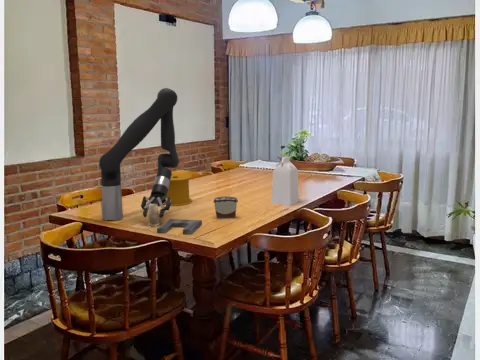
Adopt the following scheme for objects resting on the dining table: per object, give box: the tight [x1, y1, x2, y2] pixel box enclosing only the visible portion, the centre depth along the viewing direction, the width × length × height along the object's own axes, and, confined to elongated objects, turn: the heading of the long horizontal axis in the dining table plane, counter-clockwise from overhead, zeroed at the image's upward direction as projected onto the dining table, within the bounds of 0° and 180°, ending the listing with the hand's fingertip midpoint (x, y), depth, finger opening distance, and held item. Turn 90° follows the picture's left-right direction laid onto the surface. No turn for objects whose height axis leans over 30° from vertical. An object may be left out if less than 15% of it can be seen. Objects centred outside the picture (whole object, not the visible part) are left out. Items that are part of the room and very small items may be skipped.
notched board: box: [156, 218, 203, 235], centre depth 203 cm, size 16×16×2 cm
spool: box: [163, 174, 193, 207], centre depth 254 cm, size 18×18×15 cm
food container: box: [212, 195, 239, 220], centre depth 221 cm, size 12×6×10 cm, turn 92°
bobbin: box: [147, 204, 161, 228], centre depth 208 cm, size 5×5×10 cm
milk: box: [270, 155, 300, 207], centre depth 248 cm, size 12×12×26 cm
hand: (152, 216), depth 207 cm, fingers open, 7 cm apart
